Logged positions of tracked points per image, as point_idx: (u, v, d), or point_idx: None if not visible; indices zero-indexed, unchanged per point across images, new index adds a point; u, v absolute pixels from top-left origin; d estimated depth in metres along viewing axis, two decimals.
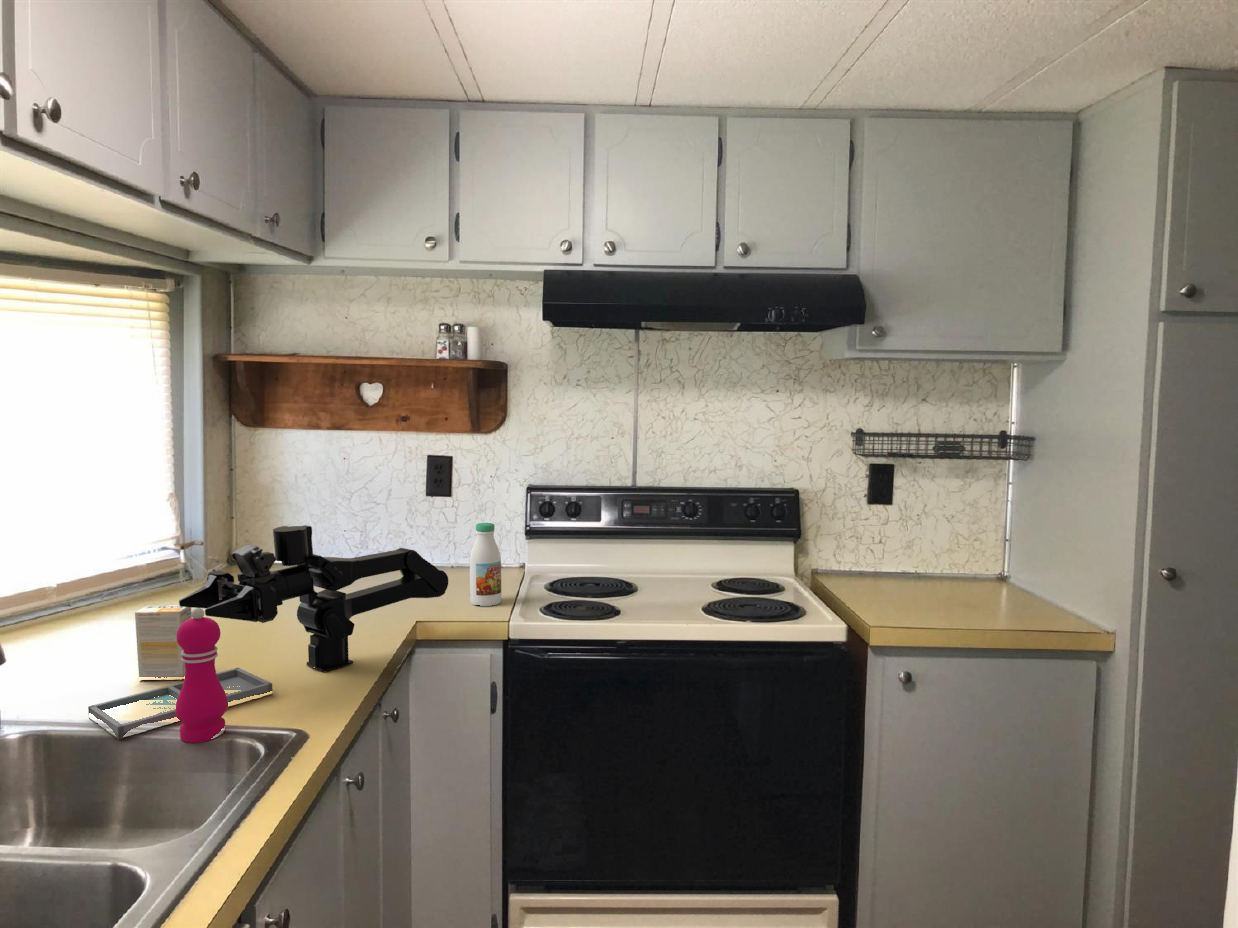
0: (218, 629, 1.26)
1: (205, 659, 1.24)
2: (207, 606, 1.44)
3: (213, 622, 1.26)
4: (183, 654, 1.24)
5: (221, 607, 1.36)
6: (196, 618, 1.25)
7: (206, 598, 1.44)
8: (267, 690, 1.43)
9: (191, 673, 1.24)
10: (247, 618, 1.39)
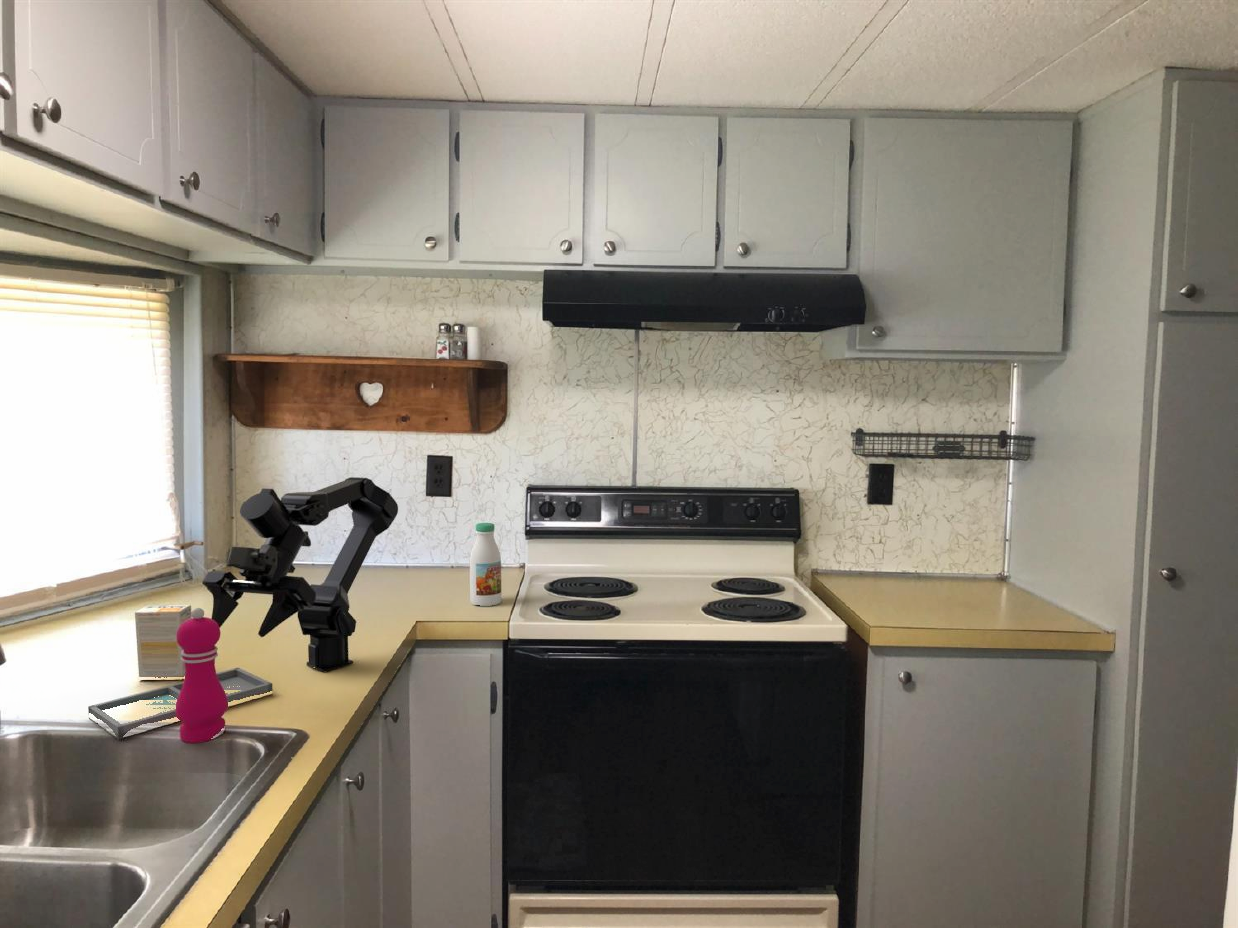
0: (218, 629, 1.26)
1: (205, 659, 1.24)
2: (230, 611, 1.39)
3: (213, 622, 1.26)
4: (183, 654, 1.24)
5: (269, 622, 1.33)
6: (196, 618, 1.25)
7: (225, 607, 1.38)
8: (267, 690, 1.43)
9: (191, 673, 1.24)
10: (293, 611, 1.37)
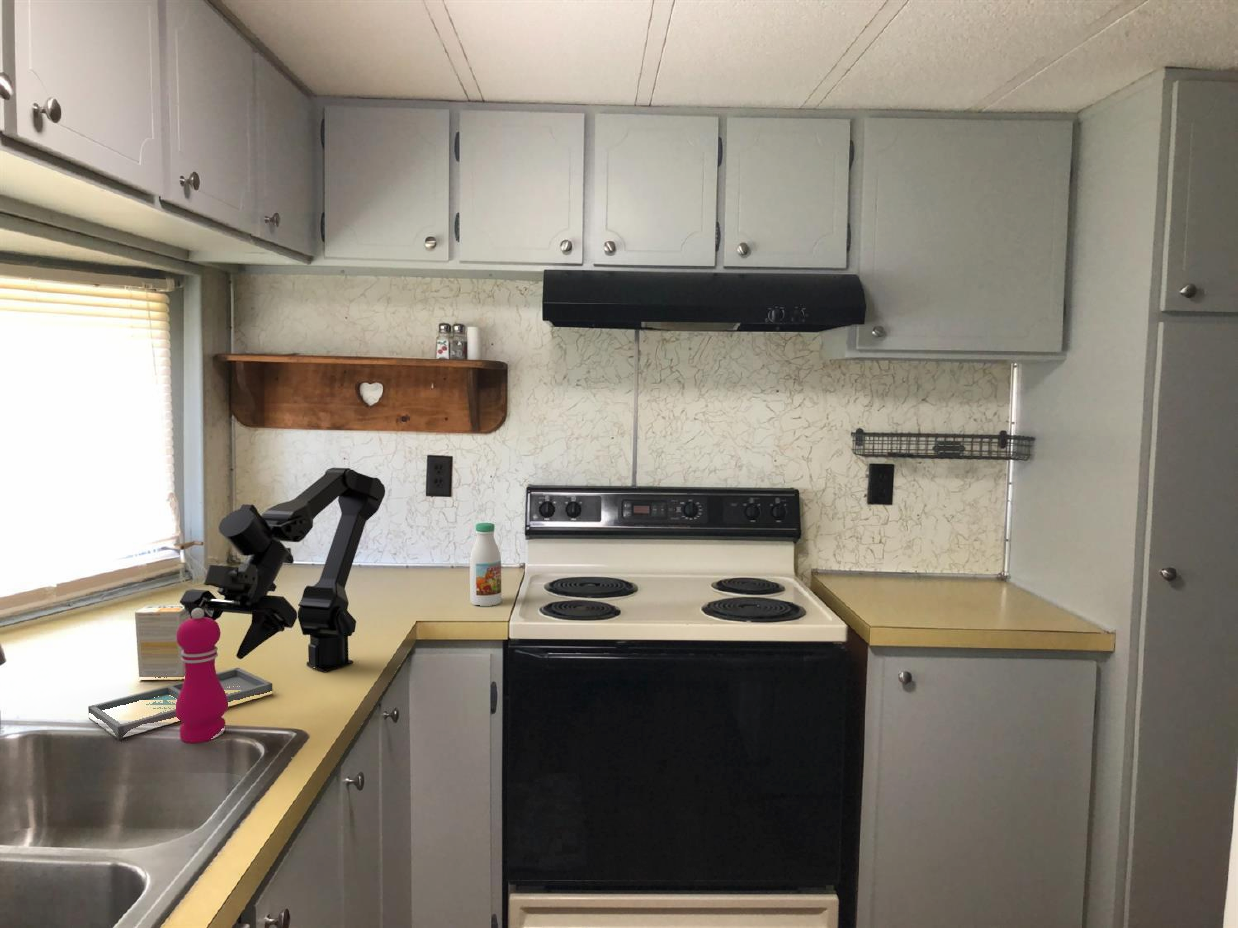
0: (218, 629, 1.26)
1: (205, 659, 1.24)
2: None
3: (213, 622, 1.26)
4: (183, 654, 1.24)
5: (248, 643, 1.29)
6: (196, 618, 1.25)
7: None
8: (267, 690, 1.43)
9: (191, 673, 1.24)
10: (273, 632, 1.33)
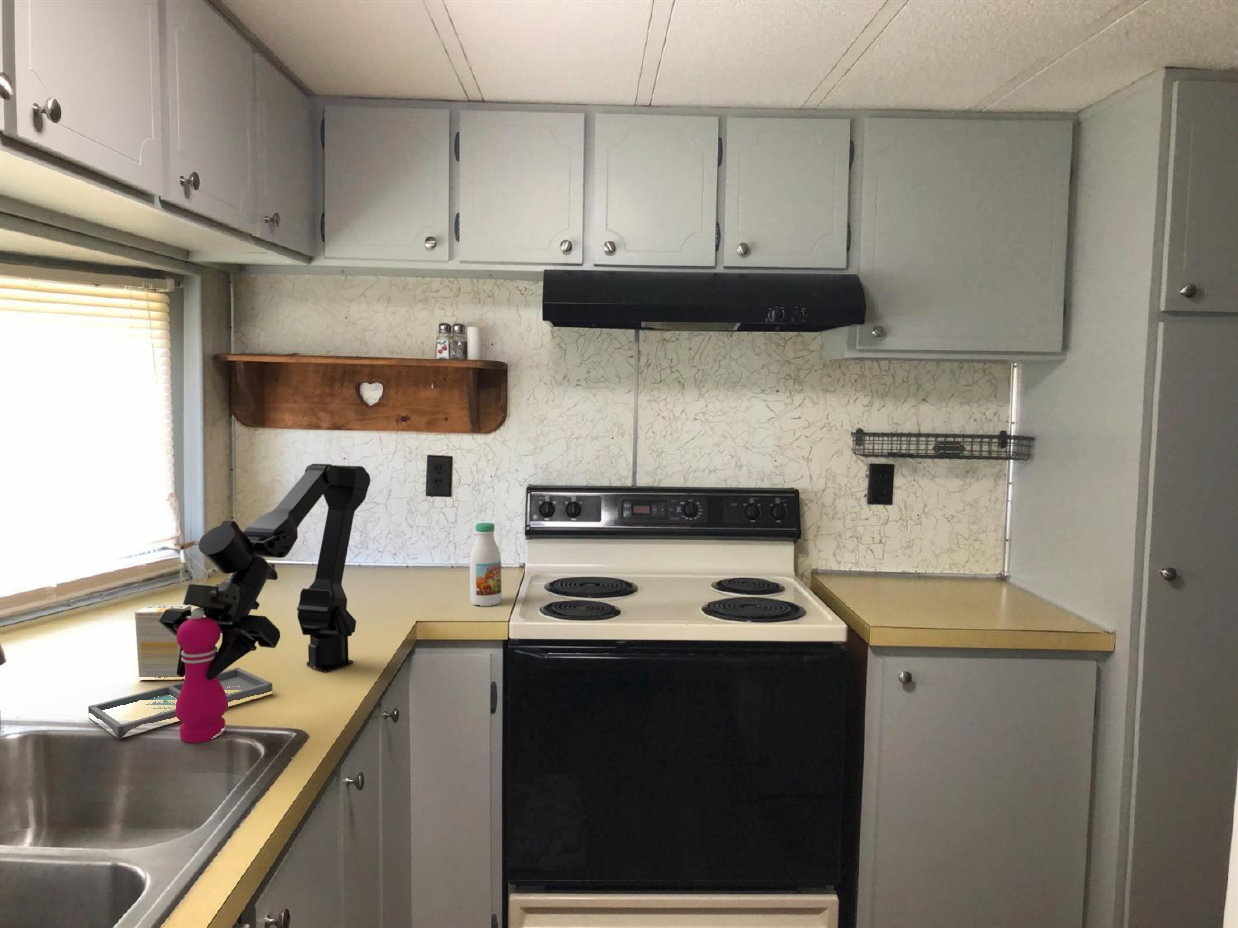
0: (218, 629, 1.26)
1: (205, 659, 1.24)
2: None
3: (213, 622, 1.26)
4: (183, 654, 1.24)
5: (218, 664, 1.25)
6: (196, 618, 1.25)
7: None
8: (267, 690, 1.43)
9: (191, 673, 1.24)
10: (244, 651, 1.29)
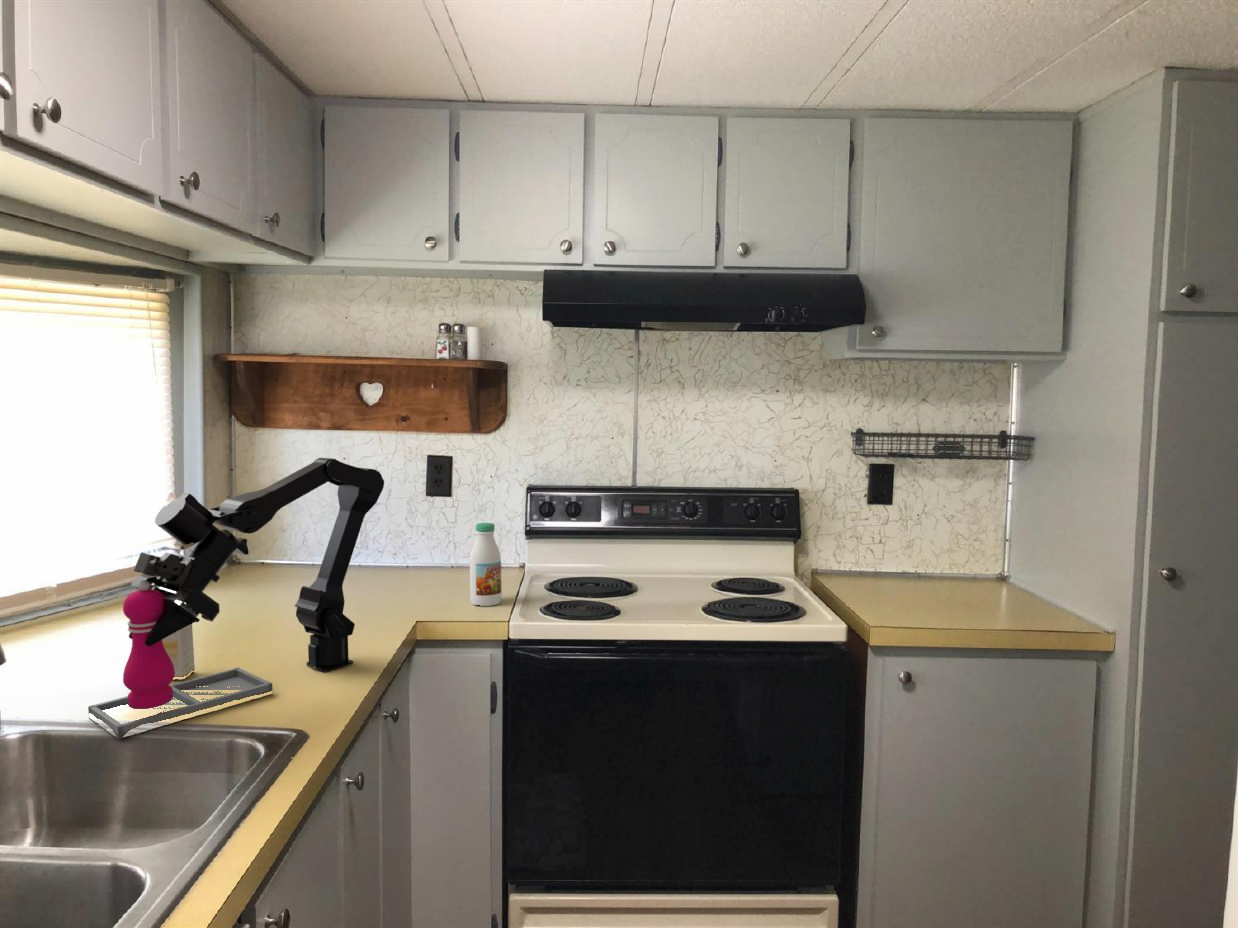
0: (160, 602, 1.30)
1: (144, 630, 1.29)
2: None
3: (155, 595, 1.30)
4: (128, 623, 1.30)
5: (157, 632, 1.29)
6: (140, 590, 1.30)
7: None
8: (267, 690, 1.43)
9: (134, 642, 1.30)
10: (188, 622, 1.32)
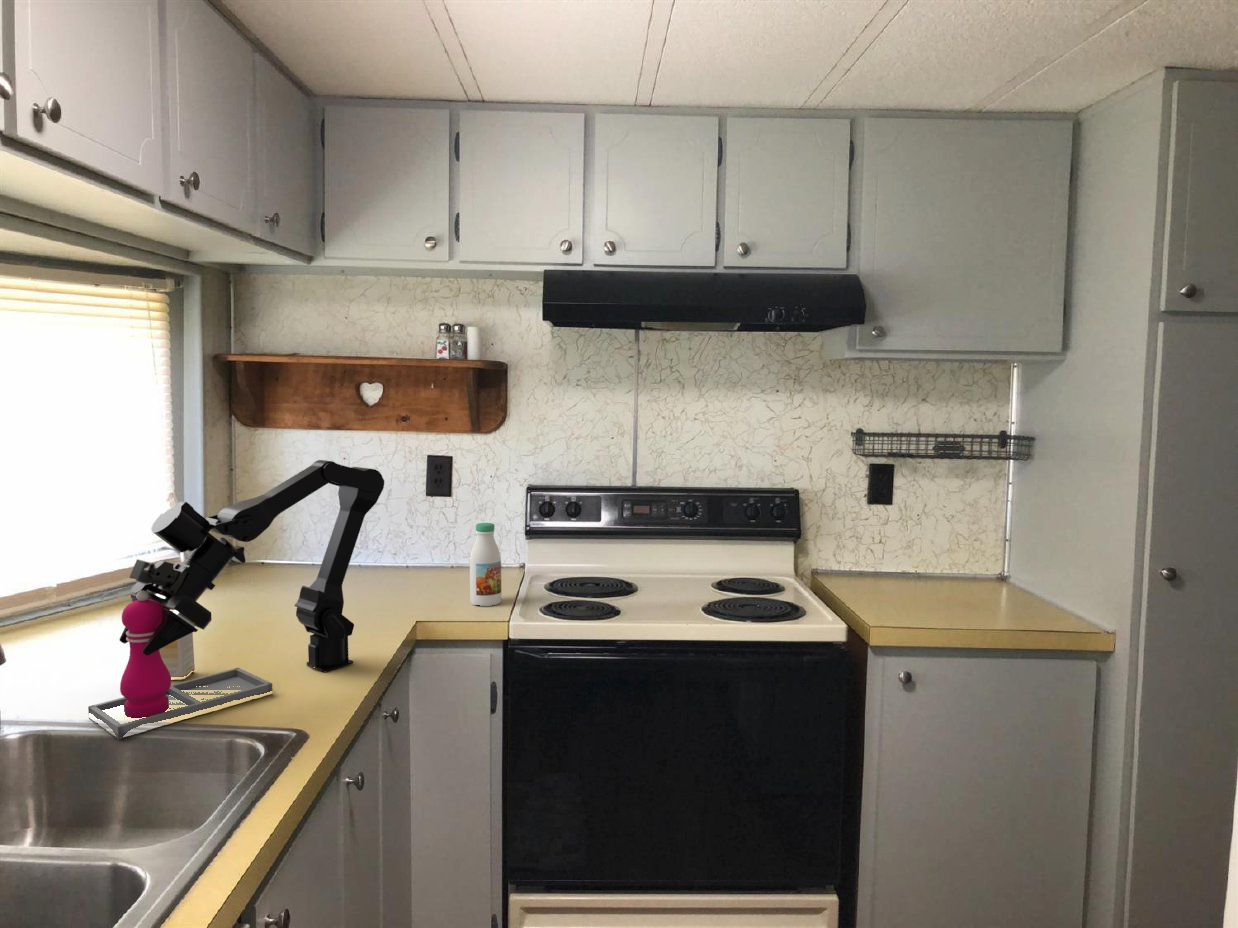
0: (157, 613, 1.32)
1: (141, 640, 1.30)
2: None
3: (153, 606, 1.32)
4: (126, 632, 1.31)
5: (154, 641, 1.29)
6: (139, 600, 1.31)
7: None
8: (267, 690, 1.43)
9: (131, 651, 1.31)
10: (187, 631, 1.32)
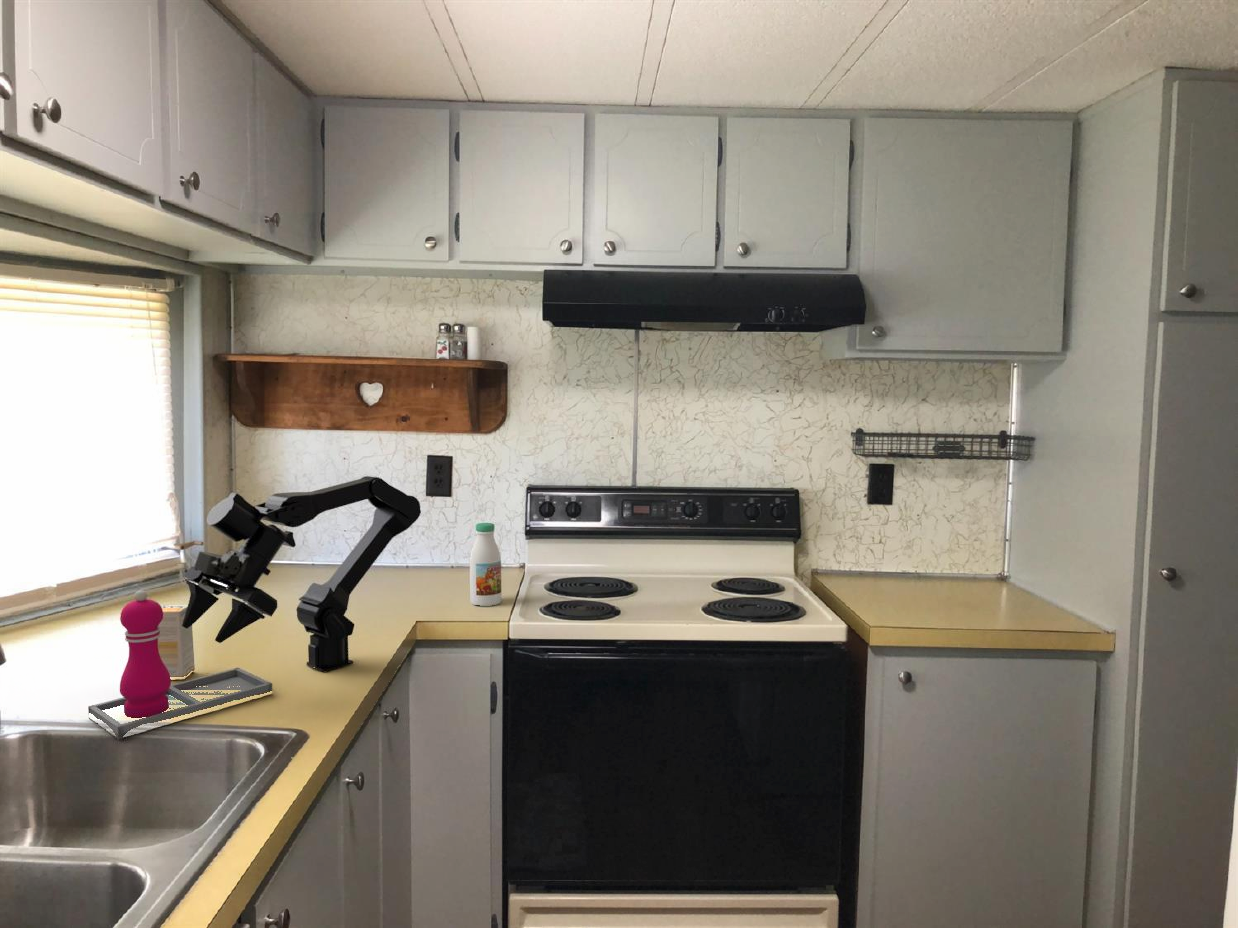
0: (156, 613, 1.32)
1: (140, 640, 1.31)
2: (207, 607, 1.45)
3: (152, 605, 1.32)
4: (125, 632, 1.32)
5: (227, 629, 1.37)
6: (137, 600, 1.32)
7: (201, 604, 1.44)
8: (267, 690, 1.43)
9: (130, 651, 1.31)
10: (254, 618, 1.40)
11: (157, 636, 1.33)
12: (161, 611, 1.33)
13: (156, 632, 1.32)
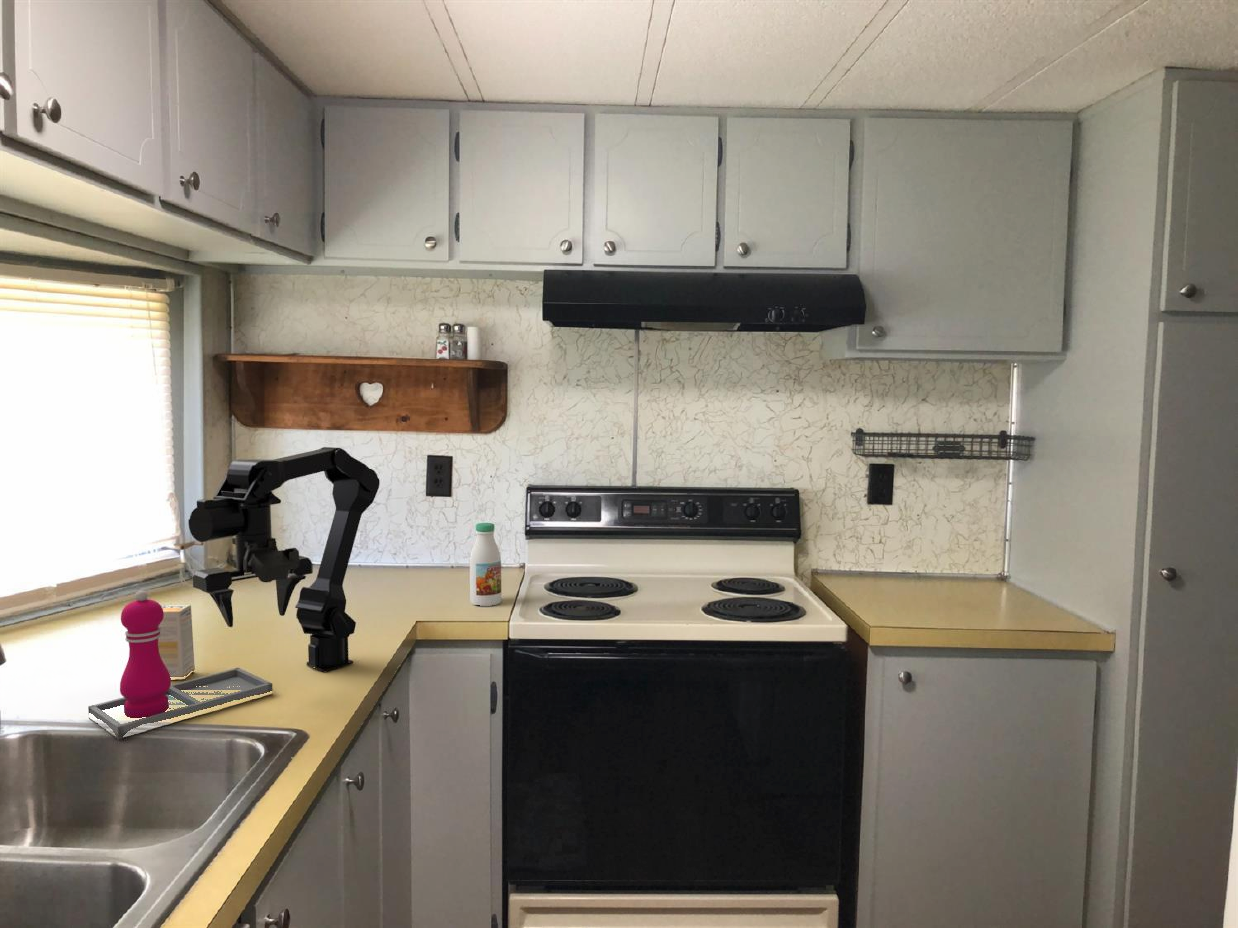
0: (156, 613, 1.32)
1: (140, 640, 1.30)
2: None
3: (152, 605, 1.32)
4: (125, 632, 1.31)
5: None
6: (138, 600, 1.32)
7: None
8: (267, 690, 1.43)
9: (131, 651, 1.31)
10: None
11: (157, 636, 1.33)
12: (162, 611, 1.33)
13: (156, 632, 1.32)
